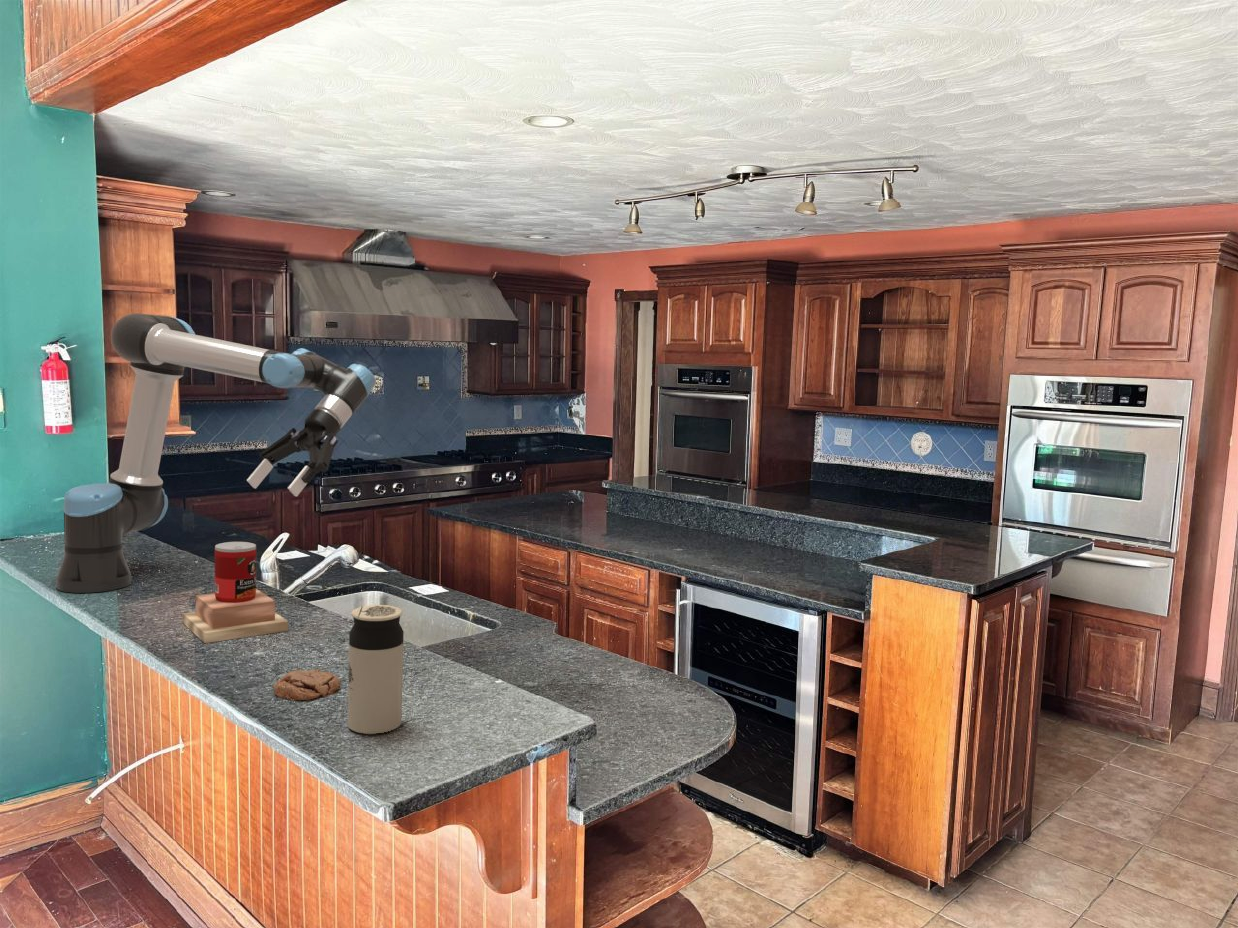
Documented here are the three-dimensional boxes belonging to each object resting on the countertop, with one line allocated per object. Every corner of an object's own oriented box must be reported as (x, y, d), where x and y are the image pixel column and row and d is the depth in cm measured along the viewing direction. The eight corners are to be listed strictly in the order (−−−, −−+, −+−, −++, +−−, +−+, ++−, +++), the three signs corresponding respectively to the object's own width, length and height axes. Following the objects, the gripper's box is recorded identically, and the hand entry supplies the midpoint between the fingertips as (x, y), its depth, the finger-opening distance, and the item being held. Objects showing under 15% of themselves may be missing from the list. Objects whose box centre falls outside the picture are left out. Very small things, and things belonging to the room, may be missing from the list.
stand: (182, 622, 184) (182, 594, 183) (261, 612, 194) (262, 585, 194) (204, 643, 172) (204, 612, 171) (288, 630, 182) (288, 602, 181)
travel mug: (406, 716, 141) (408, 605, 139) (395, 736, 133) (397, 619, 131) (355, 714, 141) (357, 603, 139) (341, 734, 133) (343, 617, 131)
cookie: (350, 693, 151) (350, 676, 150) (288, 707, 143) (288, 689, 143) (323, 676, 158) (323, 660, 157) (263, 689, 150) (263, 672, 150)
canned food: (241, 604, 178) (241, 550, 177) (205, 600, 179) (205, 547, 178) (264, 595, 185) (264, 543, 184) (229, 591, 187) (229, 540, 186)
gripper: (374, 435, 203) (319, 506, 192) (300, 425, 215) (244, 491, 204) (357, 412, 198) (300, 484, 186) (282, 403, 210) (224, 470, 199)
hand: (271, 488), depth 195 cm, fingers open, 13 cm apart
